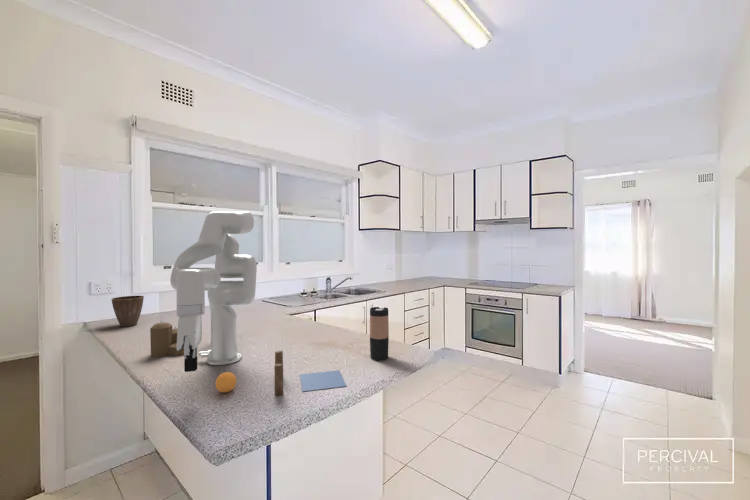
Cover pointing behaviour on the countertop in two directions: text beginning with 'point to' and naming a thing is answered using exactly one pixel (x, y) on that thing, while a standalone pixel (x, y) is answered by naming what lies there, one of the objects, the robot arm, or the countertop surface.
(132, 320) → the plant pot
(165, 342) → the candle
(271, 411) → the countertop surface
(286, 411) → the countertop surface
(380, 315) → the travel mug
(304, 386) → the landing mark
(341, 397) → the countertop surface
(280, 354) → the post
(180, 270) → the robot arm
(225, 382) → the ball
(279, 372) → the post
